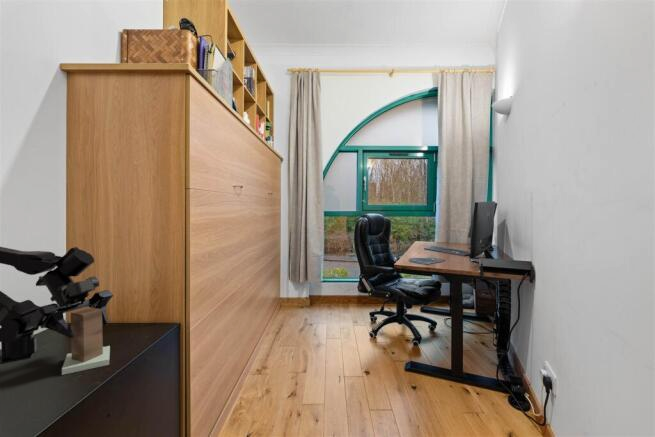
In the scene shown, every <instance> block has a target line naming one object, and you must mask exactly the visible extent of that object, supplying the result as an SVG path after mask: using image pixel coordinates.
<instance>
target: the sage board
mask: <svg viewBox="0 0 655 437" xmlns="http://www.w3.org/2000/svg"><path fill="white" fill-rule="evenodd" d="M110 354H111V346H110V345H107V346H103V354H102V355H100V356H98V357H95V358H93V359H91V360H89V361H86V362H81V361H77V360H73V359H72V352H71V353H67V354H66V356H65V360H64V361H63V365H62V367H61V375H62V376H63V375H69V374H73V373H78V372H82V371H87V370H91V369H95V368H96V369H97V368H100V367H105V366H108V365H109V366H110Z"/></svg>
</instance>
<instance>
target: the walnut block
mask: <svg viewBox="0 0 655 437" xmlns="http://www.w3.org/2000/svg"><path fill="white" fill-rule="evenodd" d="M70 329H71V330H72V332H73V334H74V336H73V338H70V343H71V353H72V359H73V360H77V361H81V362H86V361H89V360H91V359H93V358H95V357H98V356H100V355H102V354H103V347H104V345H103V344H104V342H103V340H104V339H103V324H102V309H98V308H92V307H89V306H87V307H84V308H83V309H82V308H81V309H77V310H74V311H70Z"/></svg>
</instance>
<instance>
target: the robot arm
mask: <svg viewBox="0 0 655 437" xmlns="http://www.w3.org/2000/svg"><path fill="white" fill-rule="evenodd" d="M94 262H95V258H94V256H93V255H92V254H91V253H89V252H87V251H85V250H83V249H80V248H79V247H78V246H75V247H71V248H70V249H68V251H67V252H66V253H65V254H63V255H62V256H60V255H56V254H55V253H54V252H52V251H45V250H43V251H42V250H41V251H40V250H35V251H34V250H31V251H30V250H29V251H27V250H24V251H23V250H20V249H19V250H18V249H14V248H9V247H3V246H0V264H3V265H7V266H10V267H13V268H14V269H16V270H17V271H18V272H20V273H24V274H26V275H28V276H29V275H30V276H34V275H39V274H42V273H45V274H44V275H41V276H39V277H38V279H37V281H36V282H35V286H36V287H41V286H42V287H43V286H44V287H45V286H46V288H47V289H48V291H49V293H50V294H51V297H50V301H51V302H53V303H49V304H46V305H42V306H39V305H37V304H35V302H33V301H32V300H30V299H27V300H23V301H21V302H19V301H16V300H14V299H13V298H11V297H10V296H8V295H7V294H6V293H5V292H3V291H1V290H0V344H1V345H0V348H1V359H0V364H7V363H11V362H17V361H22V360H27V359H30V358H32V357H33V355H34V354H35V353H36V351H37V336H34V332H35V331H36V332H37V331H38V330H39V328H40V329H47V330H51V331H54V332H57V333H59V334H61V335H63V336H65V337H67V338H69V339H71V338H73V336H74V334H73V332H72V330H71V326H69V324H68V323H67V321H66V320H65V318H64V314H65V313H69V312H74V311H77V310H81V309H82V308H83V309H84V308H88V307H92V308H98V309H102V326H104V327H105V326H108V324H109V321H108V315H107V305H108V304H109V302H110V300H111V299H112V298H113V297H114V295H113V293H112V292H111V290H109V289H108V290H107V289H106V290H102V291H97V292H95V293H94V294H93V295H92V296H91V298H88V297H89V296H90V294H89V293H90V292H92V291H95V290H96V288H98V287H99V286H100V281H99V279H98V277H97V276H95V275H94V276H90V277H88V278H86V279H85V280H81V281H77V282H75V281H74V280H73V278H72V277H75V278H76V277H78V276H80V275H81V274H82V273H83V272H84V271H86V270H87V269H88V268H89V267H90V266H92V264H93V263H94ZM86 298H88V299H86ZM54 302H56V303H54Z"/></svg>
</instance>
